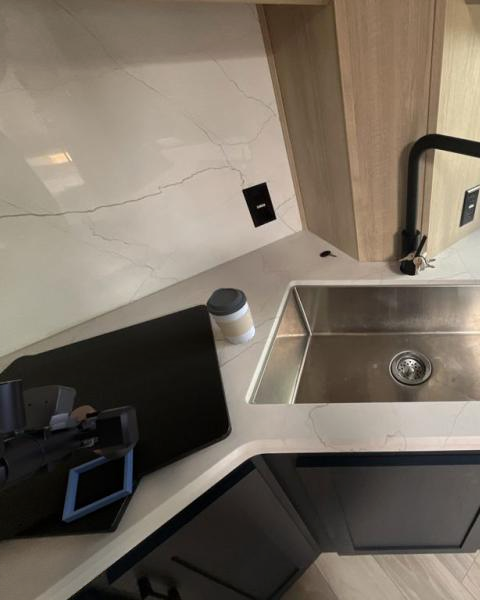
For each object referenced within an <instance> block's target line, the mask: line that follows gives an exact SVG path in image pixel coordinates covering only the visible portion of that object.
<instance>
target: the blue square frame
mask: <svg viewBox="0 0 480 600" xmlns="http://www.w3.org/2000/svg"><path fill="white" fill-rule="evenodd" d="M133 455H134V448H133V449H132V450H131V451H130V452H129V453H128V454H126V455H125V456H124V469H123V473H124V474H123V489H121V490H119V491H115V492H114V493H112V494H110V495H108V496H105V497H103V498H101V499H99V500H96V501H94V502H93V503H90V504H88V505H85V506H83V507H81V508H79V509H76V510H75V505H76V497H77V489H78V482H79V476H80V474H82V473H84V472H87V471H89V470H92V469H94V468H96V467H99V466H101V465H104V464H107V463H108V462H111V461H112V460H108V459H106V458H105V457H103V456H102V455H101V456H99V457H97V458H95V459H93V460H90V461H88V462H85V463H82V464H81V465H78V466H76V467H74V468H71V469H70V470H69V474H68V481H67V486H66V493H65V498H64V499H65V500H64V505H63V506H64V507H63V511H62V519H61V521H63V522H65V523H68V524H69V523H71V522H73V521H75V520H77V519H80V518H82V517H84V516H87V515H88V514H90V513H93V512H95V511H96V510H100V509H101V508H104V507H105V506H107V505H110V504H112V503H114V502H116V501H118V500H121V499H122V498H125V497H128V496H129V495H131V494H132V493H133V464H134V463H133V462H134V461H133V460H134V459H133V458H134V456H133Z"/></svg>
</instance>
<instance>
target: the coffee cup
mask: <svg viewBox="0 0 480 600" xmlns="http://www.w3.org/2000/svg"><path fill="white" fill-rule="evenodd" d="M205 307H206V310H207V312H208V313H209V314H210V315H211V317H212V319H213V321H214V322H215V324H216V325H217V327H218V328H219V330H220V331H221V333H222V334H223V335H224V337H225V338H226V340H227V341H228V342H229V343H230V344H233V345H240V344H244V343H246V342H248V341H250V340H251V339H252V338H253V337H254V335H255V334H256V329H255V325H254V319H253V316H252V312H251V309H250V305H249V303H248V299H247V295H246V294H245V292H244V291H243V290H242V289H238V288H234V287H220V288H217V289H215V290H213V292H212V294H211V295H210V296H209V298H208V299H207V301H206V303H205Z"/></svg>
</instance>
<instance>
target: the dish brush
mask: <svg viewBox="0 0 480 600" xmlns="http://www.w3.org/2000/svg"><path fill="white" fill-rule="evenodd" d="M92 412H98V411H97V410H96V409H95V408H93V407H92V406H91V405H81V406H79V407H77V408H76V409H74V410H72V414H71V415H70V418H72V417H78V422H79V423H80V421H82V420H84V419H86V414H87V413H92ZM135 446H136V444H134V445H132V446H131V447H129V448H125V449H121V450H116V451H111V452H106V453H103V452H102V451H100V450H95V451H92V452H94V453H95V454H97V455H100V456H101V457H102V456H103V457H105V458H106V459H108V460H111V461H115V460H119V459H122V458H123V457H125V455H126V454H128V453H129V452H130V451H131V450H132V449H133V450H134V448H135Z"/></svg>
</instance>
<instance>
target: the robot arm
mask: <svg viewBox="0 0 480 600" xmlns="http://www.w3.org/2000/svg"><path fill="white" fill-rule="evenodd" d="M76 396H77V390H76V389H75V388H73V387H68V386H63V385H58V384H50V385H45V386H39V387H32V388H28V389H26V390H24V388H23V379H16V380H8V381H3V382H0V493H1V492H2V491H5V490H6V489H9V488H11V487H13V486H14V485H16V484H18V483H20V482H22V481H25V480H27V479H28V478H31V477H34V476H39V475H43V474H48V473H51V472H52V471H54V470H56V466H55V465H56V464H59V463H60V464H61V463H64V462H69V461H70V462H71V461H74V460H76V459H77V458H79V449H83V448H88V447H89V452H93V451H95V450H100V451H102V452H103V453H106V452H111V451H116V450H121V449H125V448H129V447H131V446H132V445H134V444H135V445H136V444H137V442H138V441H139V440H140V436H139V427H138V419H137V410H136V407H135V406H133V405H132V404H131V405H125V406H119V407H115V408H110V409H106V410H98V411H97V412H92V413H87V414H86V419H84V420H82V421H80V423H79V422H78V417H72V418H70V415H71V414H72V412H73V408H74V403H75V397H76Z"/></svg>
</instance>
